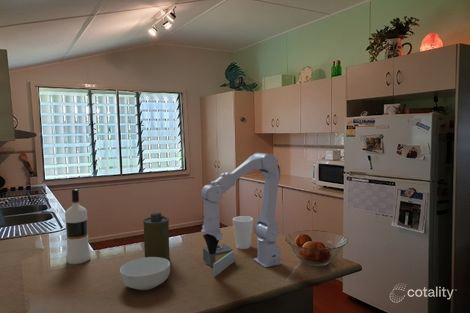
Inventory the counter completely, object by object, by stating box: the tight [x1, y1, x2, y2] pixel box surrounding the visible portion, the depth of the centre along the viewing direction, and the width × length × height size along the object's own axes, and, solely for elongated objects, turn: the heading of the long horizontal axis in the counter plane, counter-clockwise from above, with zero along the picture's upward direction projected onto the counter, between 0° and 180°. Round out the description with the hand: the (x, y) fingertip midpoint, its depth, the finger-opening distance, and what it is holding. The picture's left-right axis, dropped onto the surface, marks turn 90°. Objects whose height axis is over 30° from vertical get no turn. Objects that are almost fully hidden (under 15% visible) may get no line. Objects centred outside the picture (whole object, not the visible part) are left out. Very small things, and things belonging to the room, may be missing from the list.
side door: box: [212, 250, 235, 277], centre depth 130 cm, size 1×15×4 cm, turn 152°
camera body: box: [202, 243, 234, 267], centre depth 138 cm, size 8×10×6 cm
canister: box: [142, 211, 171, 262], centre depth 139 cm, size 11×10×20 cm
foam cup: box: [232, 215, 254, 250], centre depth 155 cm, size 10×9×13 cm
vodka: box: [64, 188, 91, 265], centre depth 140 cm, size 9×9×30 cm
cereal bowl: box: [119, 256, 171, 291], centre depth 117 cm, size 17×17×7 cm
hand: (212, 253), depth 126 cm, fingers closed
